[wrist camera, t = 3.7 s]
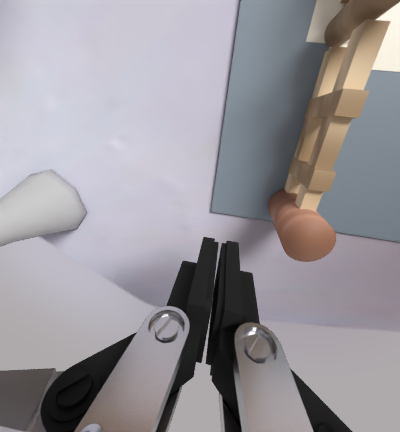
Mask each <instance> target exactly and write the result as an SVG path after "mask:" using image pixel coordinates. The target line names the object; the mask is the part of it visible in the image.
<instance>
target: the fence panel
mask: <svg viewBox="0 0 400 432" xmlns="http://www.w3.org/2000/svg"><path fill="white" fill-rule="evenodd" d="M390 22H391V21H381V20H366V21H364V22H363V23H362V24H361V25H359V26H358V27H357V28H356V29H354V30H353V31H352V34H351V37H350V40H349V43H348V46H347V47H336V46H333V47H332V48H330V49H329V50H328V51H327V52H325V55H324V58H323V61H322V65H321V68H320V71H319V75H318V78H317V81H316V85H315V88H314V91H313V95H312V98H311V99H310V100H309V103H308V106H307V110H306V113H305V116H304V118H305V121H304V124H303V128H302V131H301V134H300V138H299V141H298V144H297V148H296V151H295V154H294V157H292V160H291V163H290V167H289V170H288V172H289V174H288V178H287V181H286V184H285V188H284V189H281V190H279V191H277V192H275V193H274V194H273V195H272V196H271V197H270V199H269V202H268V210H269V213H270V215H271V218H272V220H273V223H274V226H275V228H276V231H277V233H278V236H279V238H280V241H281V243H282V246H283V249H284V251H285V252H286V254H287V255H288V256H289V257H291V258H293V259H295V260H298V261H303V262H310V261H315V260H318V259H321V258H323V257H324V256H326V255H327V254H328V253H329V252H330V251H331V250H332V249H333V247H334V245H335V242H336V234H335V231H334V229H333V228H332V227H331V226H330V225H329V224H328V223H327V222H326V221H325V219H324V218H323V217H322V216H321V215H320V214H319V213H318V212H317V211H316V210H317V207H318V205H319V202H320V199H321V197H322V194H323V192H329V190H330V188H331V185H332V183H333V180H334V178H335V175H336V173H337V172H335V171H333V170H332V169H333V166H334V164H335V161H336V159H337V156H338V154H339V151H340V149H341V146H342V144H343V141H344V138H345V136H346V133H347V131H348V128H349V126H350V123H351V121H352V119H353V118H359V116H360V114H361V111H362V109H363V106H364V104H365V101H366V99H367V97H368V94H369V92H370V91H367V90H364V88H365V85H366V83H367V80H368V77H369V75H370V72H371V70H372V67H373V65H374V62H375V60H376V57H377V55H378V52H379V50H380V47H381V44H382V42H383V39H384V37H385V34H386V32H387V29H388V27H389V24H390Z"/></svg>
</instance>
